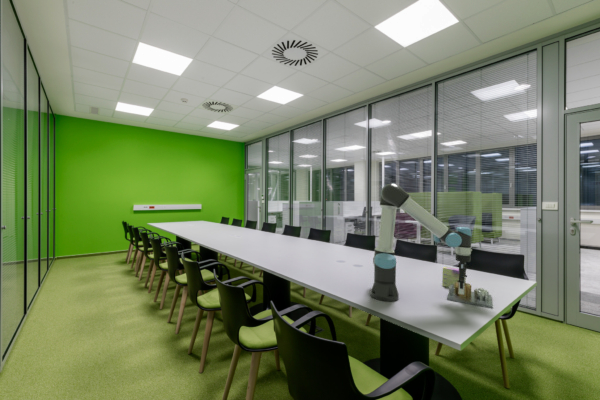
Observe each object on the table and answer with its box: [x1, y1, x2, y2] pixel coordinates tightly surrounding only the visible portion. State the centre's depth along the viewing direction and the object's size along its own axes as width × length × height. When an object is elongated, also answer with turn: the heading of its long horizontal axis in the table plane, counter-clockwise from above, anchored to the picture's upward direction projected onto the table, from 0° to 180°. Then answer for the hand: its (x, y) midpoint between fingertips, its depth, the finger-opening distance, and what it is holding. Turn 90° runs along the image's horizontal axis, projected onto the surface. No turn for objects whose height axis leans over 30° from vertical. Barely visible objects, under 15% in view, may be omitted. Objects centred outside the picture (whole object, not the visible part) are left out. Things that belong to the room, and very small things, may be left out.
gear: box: [454, 282, 472, 297], centre depth 158 cm, size 8×8×6 cm
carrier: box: [446, 284, 493, 309], centre depth 155 cm, size 21×21×6 cm
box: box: [441, 266, 459, 289], centre depth 175 cm, size 10×6×12 cm, turn 47°
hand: (462, 290), depth 158 cm, fingers open, 13 cm apart
